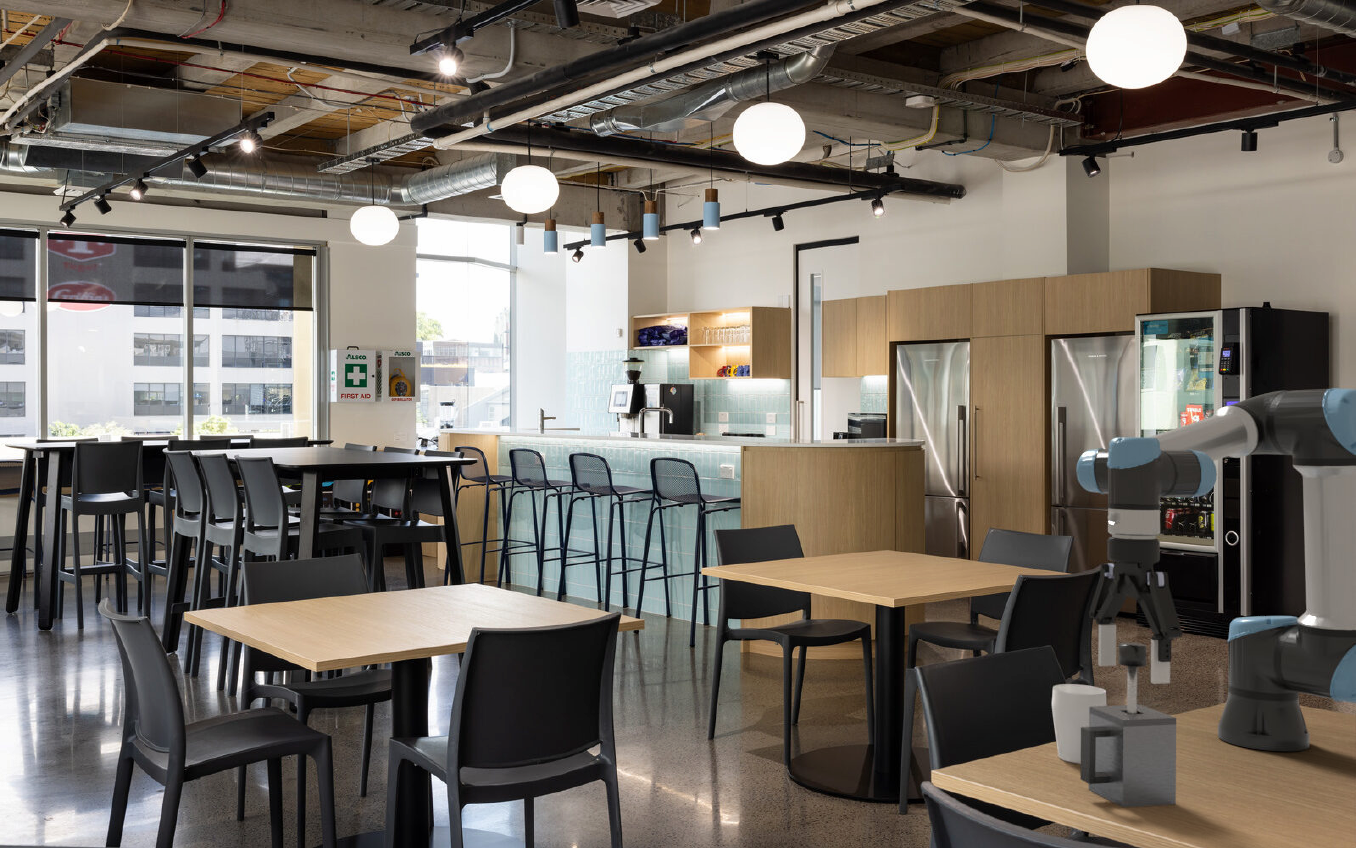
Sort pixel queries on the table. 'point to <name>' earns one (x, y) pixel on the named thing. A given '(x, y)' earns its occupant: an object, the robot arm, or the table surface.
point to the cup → (1073, 716)
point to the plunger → (1132, 670)
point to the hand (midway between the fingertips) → (1132, 674)
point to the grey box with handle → (1130, 755)
